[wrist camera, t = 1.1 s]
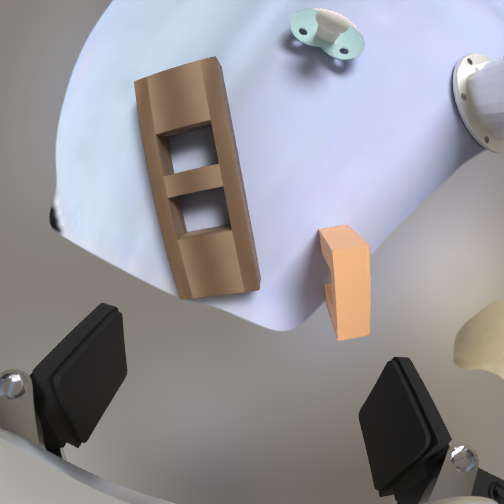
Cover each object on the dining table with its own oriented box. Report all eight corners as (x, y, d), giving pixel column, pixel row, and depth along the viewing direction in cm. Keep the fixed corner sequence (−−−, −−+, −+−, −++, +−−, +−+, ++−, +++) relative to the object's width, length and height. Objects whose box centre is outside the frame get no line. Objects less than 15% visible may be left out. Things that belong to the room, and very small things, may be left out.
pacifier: (305, 2, 20) (282, 40, 22) (312, -30, 14) (285, 10, 16) (369, 32, 21) (350, 71, 23) (389, 6, 15) (369, 49, 17)
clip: (347, 224, 27) (369, 244, 21) (352, 299, 30) (369, 334, 23) (318, 229, 28) (332, 250, 21) (326, 304, 30) (337, 340, 23)
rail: (221, 66, 23) (215, 56, 20) (260, 277, 30) (259, 290, 27) (146, 88, 24) (133, 81, 21) (188, 287, 31) (180, 299, 28)
